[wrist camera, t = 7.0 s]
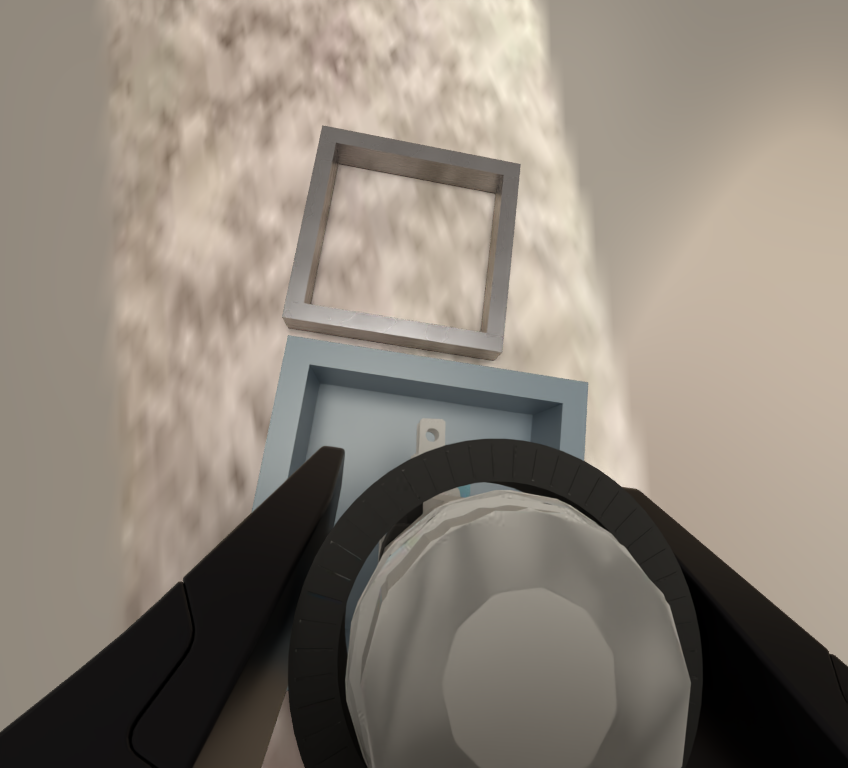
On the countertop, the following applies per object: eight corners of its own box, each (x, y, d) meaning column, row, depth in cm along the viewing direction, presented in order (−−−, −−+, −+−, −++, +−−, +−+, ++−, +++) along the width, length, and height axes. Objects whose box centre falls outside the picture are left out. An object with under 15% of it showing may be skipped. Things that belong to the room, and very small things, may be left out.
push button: (350, 421, 15) (307, 307, 5) (506, 428, 16) (724, 337, 6) (334, 641, 14) (237, 1032, 4) (507, 641, 14) (801, 988, 4)
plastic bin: (530, 670, 20) (570, 717, 16) (249, 640, 19) (216, 683, 15) (550, 399, 22) (588, 382, 18) (303, 361, 21) (288, 335, 17)
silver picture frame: (493, 360, 22) (502, 352, 21) (288, 327, 21) (281, 316, 20) (511, 183, 24) (520, 164, 23) (325, 147, 24) (322, 125, 22)
